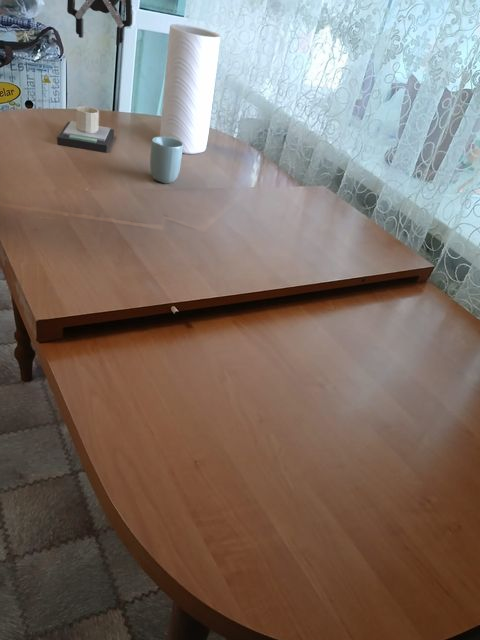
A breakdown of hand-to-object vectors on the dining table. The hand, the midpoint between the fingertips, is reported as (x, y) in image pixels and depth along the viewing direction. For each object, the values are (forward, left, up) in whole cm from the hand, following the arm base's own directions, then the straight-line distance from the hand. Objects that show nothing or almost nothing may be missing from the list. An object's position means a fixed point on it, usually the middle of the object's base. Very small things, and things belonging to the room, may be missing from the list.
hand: (99, 41), depth 129 cm
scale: (-5, +13, -28) cm, 31 cm away
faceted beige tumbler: (-5, +14, -26) cm, 30 cm away
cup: (+18, -8, -28) cm, 34 cm away
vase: (+22, +22, -28) cm, 42 cm away
